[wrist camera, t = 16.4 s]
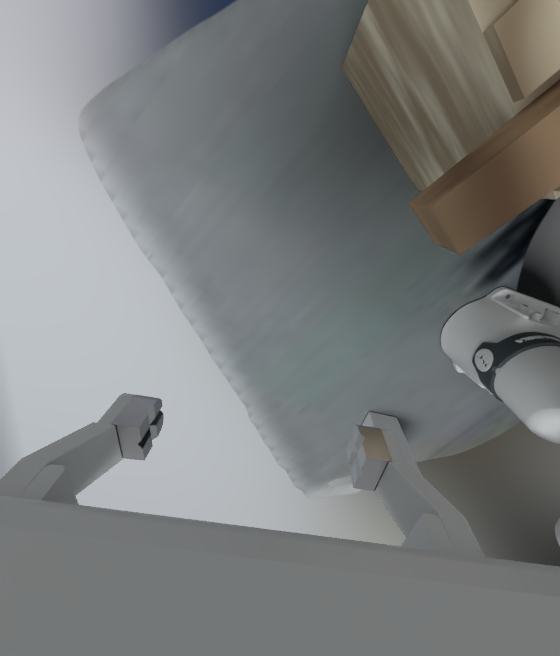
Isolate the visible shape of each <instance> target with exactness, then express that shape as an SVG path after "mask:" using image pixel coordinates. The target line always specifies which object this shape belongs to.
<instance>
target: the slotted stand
mask: <svg viewBox="0 0 560 656" xmlns="http://www.w3.org/2000/svg"><path fill="white" fill-rule="evenodd" d="M341 69H342V71H343V73H344V74H345V76H346V77H347V79H348V80H349V82H350V84H351V85H352V87H353V88H354V90H355V92H356V93H357V95H358V96H359V98H360V100H361V101H362V103H363V104H364V106H365V107H366V109H367V111H368V112H369V114H370V115H371V117H372V119H373V120H374V122H375V123H376V125H377V127H378V128H379V130H380V131H381V133H382V134H383V136H384V138H385V139H386V141H387V142H388V144H389V146H390V147H391V149H392V150H393V152H394V154H395V155H396V157H397V158H398V160H399V161H400V163H401V165H402V166H403V168H404V169H405V171H406V173H407V174H408V176H409V177H410V179H411V180H412V182H413V184H414V185H415V187H416V188H417V190H418V191H424V190H425V189H426V188H427V187H429V186H430V185H431V184H432V183H433V182H435V181H436V180H437V179H438V178H440V177H441V176H442V175H443V174H444V173H446V172H447V171H448V170H449V169H450V168H452V167H453V166H454V165H455V164H457V163H458V162H459V161H460V160H461V159H463V158H464V157H465V156H466V155H468V154H469V153H470V152H471V151H472V150H474V149H475V148H476V147H477V146H479V145H480V144H481V143H482V142H483V141H485V140H486V139H487V138H488V137H490V136H491V135H492V134H493V133H494V132H496V131H497V130H498V129H499V128H501V127H502V126H503V125H504V124H505V123H507V122H508V121H509V120H510V119H512V118H513V117H514V116H515V115H516V114H518V113H519V112H520V111H521V110H523V109H524V108H525V107H526V106H527V105H529V104H530V103H531V102H532V101H534V100H535V99H536V98H537V97H538V96H540V95H541V94H542V93H543V92H545V91H546V90H547V89H548V88H549V87H551V86H552V85H553V84H554V83H555V82H557V81H558V80H559V79H560V0H368V2H367V5H366V7H365V10H364V12H363V15H362V17H361V20H360V23H359V25H358V28H357V30H356V33H355V35H354V38H353V40H352V43H351V45H350V48H349V50H348V53H347V55H346V58H345V60H344V63H343V65H342V68H341ZM559 197H560V186H559V187H557V188H556V189H554V190H553V191H551V192H550V193H549V194H547V195H546V196H544V197H543V198H542V199H558V198H559Z"/></svg>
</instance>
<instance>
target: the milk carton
mask: <svg viewBox="0 0 560 656" xmlns="http://www.w3.org/2000/svg"><path fill="white" fill-rule="evenodd" d="M362 426H369V427H377V428H385V429H392V430H393V432H394V434H395V437H396V439H397V442H398V444H399V447H400V449H401V452H402V454H403V457H404V459H405V462H406V464H409V465H411V466H412V467H413V468H414V469H415V470H416V471H417V472H418V473H419V474H420V475H421V473H420V471H419V468H418V466H417V464H416V461H415V459H414V457H413V454H412V452H411V450H410V447H409V445H408V443H407V440H406V438H405V436H404V433H403V431H402V429H401V426H400V424H399V422H398V419H397V418H396V417H392V416H387V415H383V414H378V413H374V412H369V413H368V415H367V416H366V418H365V420H364V422H363V424H362ZM421 476H422V475H421Z"/></svg>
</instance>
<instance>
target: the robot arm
mask: <svg viewBox="0 0 560 656" xmlns="http://www.w3.org/2000/svg"><path fill="white" fill-rule="evenodd" d="M507 295H508V296H507ZM506 296H507V297H506ZM441 346H442V349H443V351H444V352H445V353H446V355H447V356H449V357H450V358H451V360H452V362H453V366H454V368H455V370H456V371H458V372H459V373H466V374H467V375H468V376H469V377H470V378H471V379H472V380H473V381H474V382H476V383H477V384H478V385H479V386H480V387H482V388H486V389H487V390H488V391H489V392H490V393H491V394H492V395H493V396H495V397H496V398H497V399H498V400H500V401H502V402H504V403H505V404H506V405H507V406H508V407H509V408H510V409H511V410H512V411H513V412H514V413H515V414H516V415H517V416H518V418H519V419H520V420H521V421H522V422H523V423H524V424H525V425H526V426H527V427H528V428H529V429H530V430H531V431H532V432H534V433H535V434H537V435H538V436H540V437H542V438H544V439H546V440H549V441H551V442H554V443H558V444H560V307H557V306H554V305H551V304H549V303H546V302H544V301H541V300H538V299H535V298H533V297H530V296H527V295H525V294H522V293H519V292H517V291H514V290H511V289H508V288H506V287H499V288H497V289H495V290H494V291H492V292H491V293H490V294H488V295H487V296H486V297H484V298H482V299H480V300H477V301H474V302H472V303H469V304H467V305H465V306H464V307H462V308H461V309H459V310H458V311H457V312H455V313H454V314H453V315H452V316H451V317H450V319H449V320H448V321H447V323H446V324H445V326H444V328H443V331H442V334H441ZM161 407H162V400H161V399H159V398H153V397H146V396H140V395H133V394H127V393H123V394H122V395H120V396H119V397H118V399H117V400H116V401H115V402H114V403H113V405H112V406H111V407H110V408H109V409H108V411H107V412H106V413H105V414H104V415H103V417H102V418H101V419H100V420H99V421H98V422H97V423H94V422H93V423H91V424H89V425H87V426H85V427H83V428H81V429H79V430H77V431H76V432H73V433H72V434H70V435H68V436H66V437H64V438H62V439H60V440H58V441H56V442H54V443H52V444H50V445H48V446H46V447H44V448H42V449H40V450H38V451H36V452H34V453H32V454H30V455H28V456H26V457H24V458H22V459H21V460H20V461H19V462H18V463H17V464H16V465H15V466H14V467H13V468H12V469H11V470H10V471H9V472H8V473H7V474H6V475H5V476H4V477H3V478H2V479H1V480H0V656H560V567H557V566H549V565H541V564H533V563H525V562H518V561H510V560H502V559H494V558H487V557H485V556H484V554H483V552H482V550H481V548H480V546H479V544H478V542H477V540H476V538H475V536H474V534H473V532H472V530H471V528H470V526H469V524H468V522H467V520H466V518H465V517H464V516H463V515H462V514H461V513H460V512H459V511H458V510H457V509H456V508H455V507H454V506H452V504H451V503H449V502H448V501H447V500H446V499H445V498H444V497H443V496H442V495H441V494H440V493H439V492H438V491H437V490H436V489H435V488H434V487H433V486H432V485H431V484H430V483H429V482H428V481H426V479H425V478H423V477H422V476H421V475H420V474H419V473H418V472H417V471H416V470H415V469H414V468H413V467H412V466H411V465H409V464H406V462H405V459H404V457H403V454H402V452H401V449H400V447H399V444H398V442H397V439H396V437H395V434H394V432H393V430H392V429H385V428H377V427H369V426H361V425H355V426H354V428H353V430H352V432H353V437H351V438H350V439H349V442H348V447H347V457H348V462H349V463H350V464H351V466H352V469H351V472H350V473H351V478H352V483H353V488H357V489H364V490H370V491H375V492H374V493H375V494H376V495H377V497H378V498H379V500H380V501H381V503H382V504H383V505H384V507H385V508H386V510H387V511H388V512H389V514H390V515H391V517H392V518H393V519H394V521H395V522H396V524H397V525H398V527H399V528H400V529H401V531H402V532H403V534H404V535H405V536H406V539H405V541H404V542H403V544H402V546H393V545H386V544H378V543H370V542H362V541H355V540H347V539H339V538H331V537H323V536H316V535H308V534H300V533H292V532H285V531H276V530H269V529H261V528H253V527H245V526H238V525H229V524H222V523H214V522H207V521H199V520H191V519H182V518H175V517H168V516H160V515H152V514H144V513H137V512H128V511H121V510H113V509H106V508H97V507H90V506H82V505H79V504H78V501H77V499H76V496H75V495H77V494H78V493H79V492H81V491H82V490H83V489H85V488H86V487H87V486H88V485H90V484H91V483H92V482H94V481H95V480H96V479H97V478H99V477H100V476H101V475H103V474H104V473H105V472H107V471H108V470H109V469H111V468H112V467H113V466H114V465H116V464H117V463H118V462H120V461H121V460H122V458H126V459H136V460H145V458H146V456H147V455H148V453H149V451H150V449H151V447H152V440H153V439H154V438H156V437H157V436H158V435H159V433H160V431H161V428H162V425H163V413H162V412H161V411H160V409H161ZM555 534H556V538H557V541H558V543H559V546H560V518H559V519H558V521H557V523H556V525H555Z"/></svg>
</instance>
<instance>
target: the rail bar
mask: <svg viewBox="0 0 560 656" xmlns="http://www.w3.org/2000/svg"><path fill="white" fill-rule="evenodd" d="M559 186H560V79H559V80H558V81H557V82H555V83H554V84H553V85H552V86H551V87H549V88H548V89H547V90H546V91H545V92H543V93H542V94H541V95H540V96H538V97H537V98H536V99H535V100H534V101H532V102H531V103H530V104H529V105H527V106H526V107H525V108H524V109H523V110H521V111H520V112H519V113H518V114H516V115H515V116H514V117H513V118H512V119H510V120H509V121H508V122H507V123H505V124H504V125H503V126H502V127H501V128H499V129H498V130H497V131H496V132H494V133H493V134H492V135H491V136H490V137H488V138H487V139H486V140H485V141H483V142H482V143H481V144H480V145H479V146H477V147H476V148H475V149H474V150H472V151H471V152H470V153H469V154H468V155H466V156H465V157H464V158H463V159H461V160H460V161H459V162H458V163H457V164H455V165H454V166H453V167H452V168H450V169H449V170H448V171H447V172H446V173H444V174H443V175H442V176H441V177H440V178H438V179H437V180H436V181H435V182H433V183H432V184H431V185H430V186H429V187H427V188H426V189H425V190H424V191H422V192H421V193H420V194H419V195H418V196H416V197H415V198H414V199H413V200H411V201H410V202H409V205H410V206H411V208H412V210H413V211H414V213H415V214H416V216H417V217H418V219H419V220H420V222H421V223H422V225H423V227H424V228H425V230H426V231H427V233H428V234H429V236H430V237H431V239H432V240H433V242H434V243H435V244H437V245H440V246H442V247H444V248H447V249H449V250H451V251H453V252H456V253H458V254H460V255H461V254H462V253H464V252H465V251H467V250H468V249H469V248H471V247H472V246H474V245H475V244H477V243H478V242H479V241H481V240H482V239H484V238H485V237H487V236H488V235H490V234H491V233H492V232H494V231H495V230H497V229H498V228H500V227H501V226H502V225H504V224H505V223H507V222H508V221H510V220H511V219H513V218H514V217H515V216H517V215H518V214H520V213H521V212H523V211H524V210H526V209H527V208H528V207H530V206H531V205H533V204H534V203H536V202H537V201H538V200H540V199H541V198H543V197H544V196H546V195H547V194H549V193H550V192H551V191H553V190H554V189H556V188H557V187H559Z"/></svg>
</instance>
